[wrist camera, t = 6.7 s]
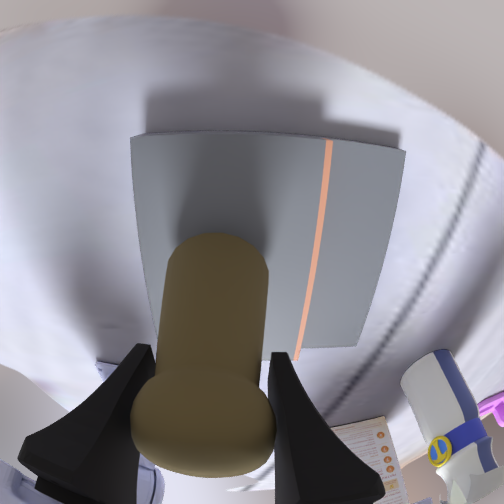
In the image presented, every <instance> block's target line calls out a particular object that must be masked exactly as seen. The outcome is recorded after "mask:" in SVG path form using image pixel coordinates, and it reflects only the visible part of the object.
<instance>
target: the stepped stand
mask: <svg viewBox="0 0 504 504" xmlns="http://www.w3.org/2000/svg"><path fill="white" fill-rule="evenodd" d="M130 145H131V164H132V179H133V191H134V202H135V211H136V220H137V229H138V236H139V244H140V251H141V257H142V264H143V270H144V276H145V282H146V287H147V293H148V298H149V303H150V308H151V313H152V317H153V322H154V327H155V331H156V335H157V340H158V332H159V323H160V314H161V306H162V298H163V290H164V283H165V276H166V270H167V264H168V259H169V258H170V256H171V255H172V253H173V251H174V250H175V248H176V247H178V246H179V245H180V244H181V243H183V242H184V241H185V240H187V239H188V238H191V237H194V236H197V235H200V234H203V233H226V234H229V235H233V236H237V237H240V238H242V239H243V240H245V241H247V242H248V243H250V244H251V245H253V246H254V247H255V248H256V249H257V250H258V251H259V253H260V254H261V255H262V256H263V257H264V259H265V262H266V265H267V267H268V270H269V285H268V296H267V308H266V319H265V330H264V341H263V351H262V361H270V360H271V352H287V353H288V355H289V358H290V360H291V361H292V360H298V358H299V354H300V349H301V348H332V347H351V346H356V345H357V343H358V340H359V337H360V335H361V332H362V329H363V326H364V323H365V321H366V318H367V315H368V312H369V309H370V306H371V303H372V299H373V296H374V293H375V290H376V286H377V283H378V280H379V276H380V273H381V269H382V266H383V262H384V258H385V255H386V251H387V247H388V243H389V239H390V235H391V230H392V226H393V221H394V217H395V212H396V207H397V202H398V197H399V192H400V186H401V181H402V175H403V169H404V162H405V155H406V151H404V150H401V149H398V148H393V147H388V146H383V145H377V144H371V143H365V142H358V141H352V140H344V139H337V138H329V137H320V136H310V135H299V134H287V133H272V132H251V131H180V132H159V133H145V134H141V135H138V136H134V137H130Z"/></svg>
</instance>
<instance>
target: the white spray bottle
mask: <svg viewBox="0 0 504 504" xmlns="http://www.w3.org/2000/svg"><path fill="white" fill-rule="evenodd" d="M400 385H401V387H402V389H403V391H404V393H405V395H406V397H407V399H408V402H409V404H410V406H411V408H412V410H413V413H414V415H415V417H416V420H417V422H418V425H419V428H420V430H421V433H422V435H423V437H424V440H425V442H426V443H427V445H428V446H429V448H428V458H429V461H430V462H431V464H432V465H434V466H437V467H438V468H437V470H436V474H438V475H440V476H441V477H442V478H443V480H444V481H445V483H446V485H447V492H448V499H447V500H448V501H446V502H445V501H442V500H440V504H471V503H474V502H477V501H478V500H480V499H482V498H484V497H485V496H487V495H488V494H490V493H491V492H493V491H494V490H496V489H497V488H499V487H500V486H502V485H503V484H504V466H501V467H499V466H498V464H497V462H496V460H495V458H494V456H493V452H492V441H493V437H488V436H487V433H486V431H485V429H484V427H483V425H482V422H481V420H480V412H479V408H478V405H477V403H476V401H475V398H474V396H473V394H472V393H471V391H470V389H469V387H468V385H467V383H466V381H465V379H464V377H463V375H462V373H461V371H460V369H459V367H458V365H457V363H456V361H455V359H454V357H453V355H452V353H451V352H450V351H449V350H446V349H442V350H437V351H434V352H431V353H429V354H427V355H425V356H423V357H422V358H420V359H419V360H417V361H416V362H415V363H414V364H412V365H411V366H410V367H409V368H408V369H407V370H406V372H405V373H404V374H403V376H402V378H401V381H400Z"/></svg>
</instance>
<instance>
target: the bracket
mask: <svg viewBox="0 0 504 504" xmlns="http://www.w3.org/2000/svg"><path fill="white" fill-rule="evenodd" d="M477 405H478V408H479V412H480V416H482V415H484V414H487V413H489V412H492V413H493V415H494V417H495V418H496V421H497V423H498V424H499V425H500V426H501V427H504V392H501V393H499V394H497V395H495V396H492V397H490V398H488V399H485V400H483V401H482V402H480V403H479V404H477Z"/></svg>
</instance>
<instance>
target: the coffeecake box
mask: <svg viewBox="0 0 504 504" xmlns="http://www.w3.org/2000/svg"><path fill="white" fill-rule="evenodd" d="M331 430H332V431H333V432H334V433H335V434H336V435H337V437H338V438H339V439H340V440H341V441H342V442H343V443H344V444H345V445H346V446H347V447H348V448H349V449H350V450H351V451H352V452H353V453H354V454H355V455H356V456H357V457H359V458H360V459H361V460H362V461H363V462H364V463H366V464H367V465H368V466H369V467H371V468H372V469H373V470H375V471H376V472H377V473H379V475H380V477H381V479H382V482H383V484H384V487H385V492H386V494H385V496H384V497H383V498H381V499H380V500H378V501H376V502H374V503H373V504H409V500H408V496H407V492H406V488H405V484H404V480H403V477H402V473H401V469H400V466H399V462H398V458H397V455H396V452H395V448H394V445H393V442H392V438H391V435H390V432H389V429H388V426H387V422H386V419H385V417H384V416H381V417H378V418H374V419H370V420H366V421H362V422H357V423H352V424H348V425H343V426H338V427H332V428H331Z"/></svg>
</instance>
